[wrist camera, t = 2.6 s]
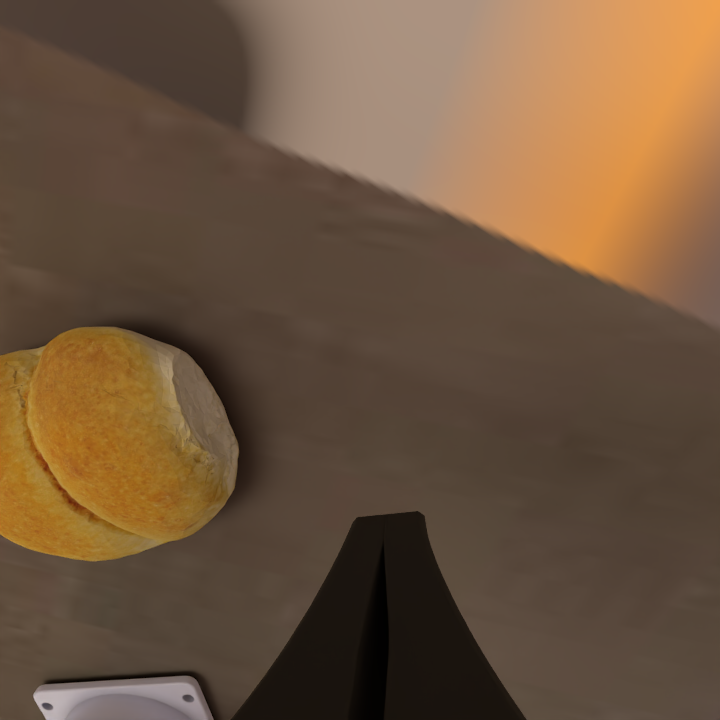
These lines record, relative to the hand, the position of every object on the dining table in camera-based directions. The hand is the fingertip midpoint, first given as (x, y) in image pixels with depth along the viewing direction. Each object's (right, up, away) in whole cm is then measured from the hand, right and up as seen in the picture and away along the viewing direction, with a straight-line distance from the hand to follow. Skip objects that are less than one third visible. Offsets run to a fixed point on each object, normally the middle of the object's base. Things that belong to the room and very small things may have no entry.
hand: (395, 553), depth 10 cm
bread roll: (-9, +1, +8) cm, 13 cm away
